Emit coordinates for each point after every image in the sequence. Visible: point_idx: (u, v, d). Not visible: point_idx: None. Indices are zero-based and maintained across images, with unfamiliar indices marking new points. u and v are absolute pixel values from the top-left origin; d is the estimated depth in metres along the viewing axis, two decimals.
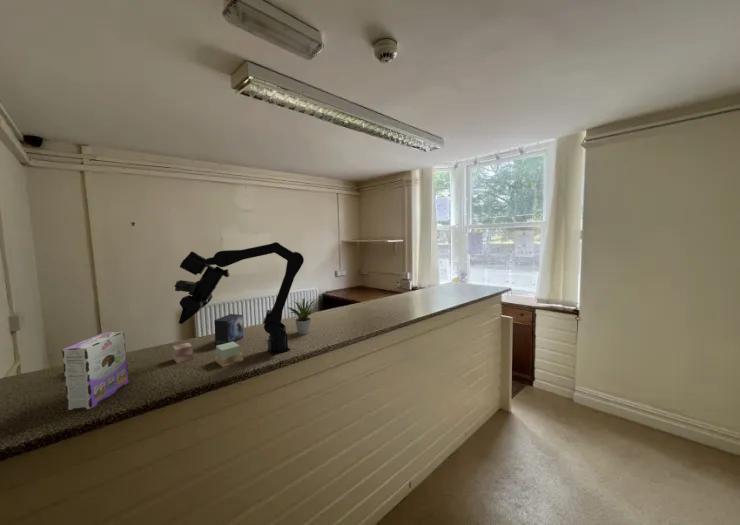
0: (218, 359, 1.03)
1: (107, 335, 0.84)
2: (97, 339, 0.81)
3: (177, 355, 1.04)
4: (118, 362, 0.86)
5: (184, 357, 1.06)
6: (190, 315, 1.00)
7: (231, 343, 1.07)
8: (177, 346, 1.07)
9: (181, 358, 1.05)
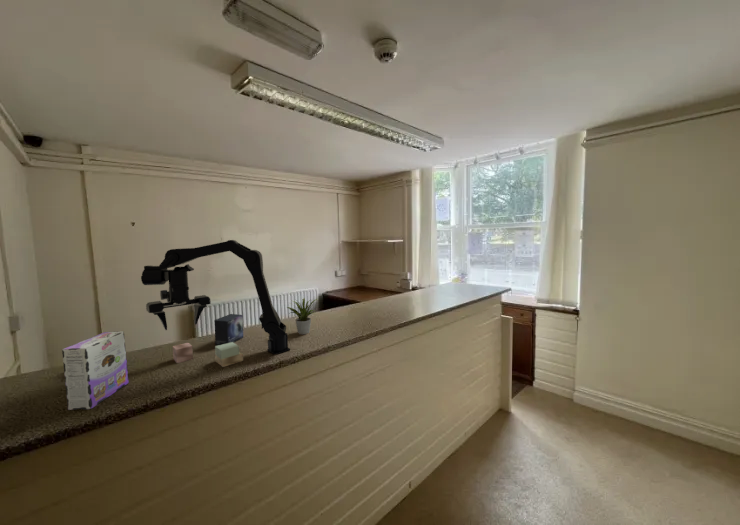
0: (218, 359, 1.03)
1: (107, 335, 0.84)
2: (97, 339, 0.81)
3: (177, 355, 1.04)
4: (118, 362, 0.86)
5: (184, 357, 1.06)
6: (161, 319, 1.01)
7: (230, 343, 1.07)
8: (177, 346, 1.07)
9: (181, 358, 1.05)
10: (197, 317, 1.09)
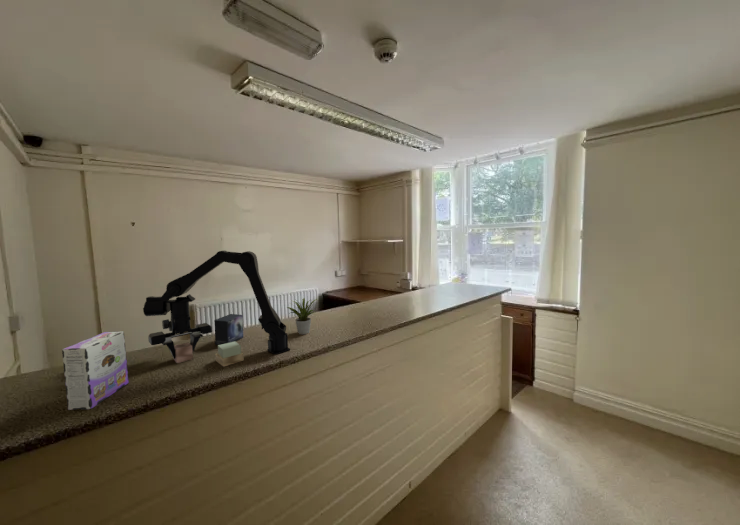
0: (218, 359, 1.04)
1: (107, 335, 0.84)
2: (97, 339, 0.81)
3: (177, 355, 1.04)
4: (118, 362, 0.86)
5: (184, 357, 1.06)
6: (169, 348, 1.03)
7: (233, 343, 1.08)
8: (177, 345, 1.07)
9: (180, 357, 1.05)
10: (193, 347, 1.09)
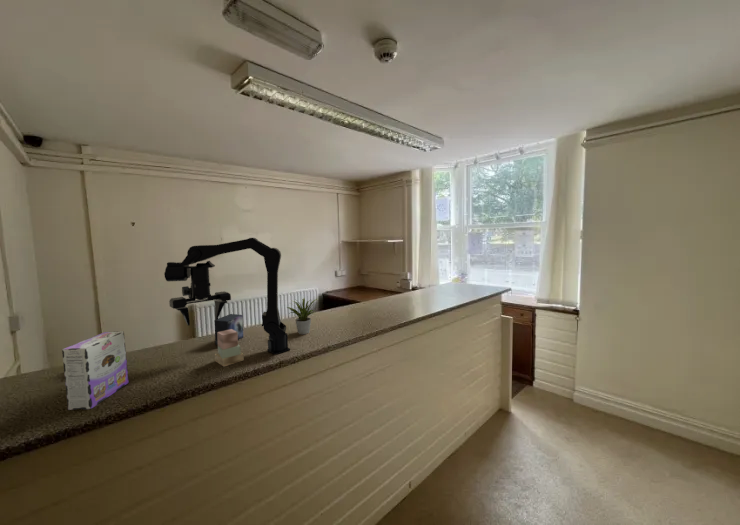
0: (218, 359, 1.04)
1: (107, 335, 0.84)
2: (97, 339, 0.81)
3: (223, 341, 1.02)
4: (118, 362, 0.86)
5: (229, 343, 1.03)
6: (184, 315, 1.02)
7: None
8: (222, 332, 1.05)
9: (227, 344, 1.03)
10: (218, 313, 1.10)
